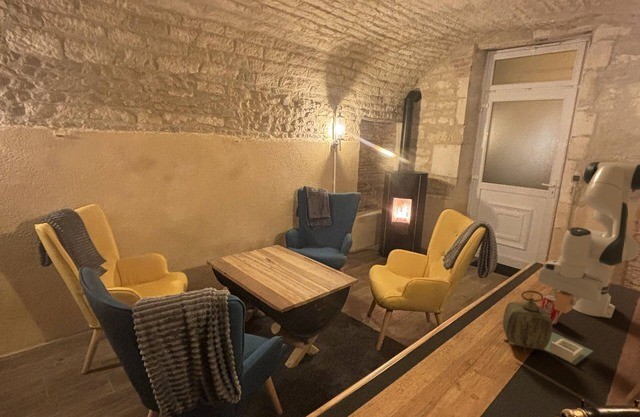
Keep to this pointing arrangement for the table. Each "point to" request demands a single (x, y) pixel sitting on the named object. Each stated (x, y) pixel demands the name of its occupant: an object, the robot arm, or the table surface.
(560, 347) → the frame
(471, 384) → the table surface
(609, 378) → the table surface
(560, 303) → the plug
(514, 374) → the table surface
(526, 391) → the table surface
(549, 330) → the tabletop clock
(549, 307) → the soda can
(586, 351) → the board
